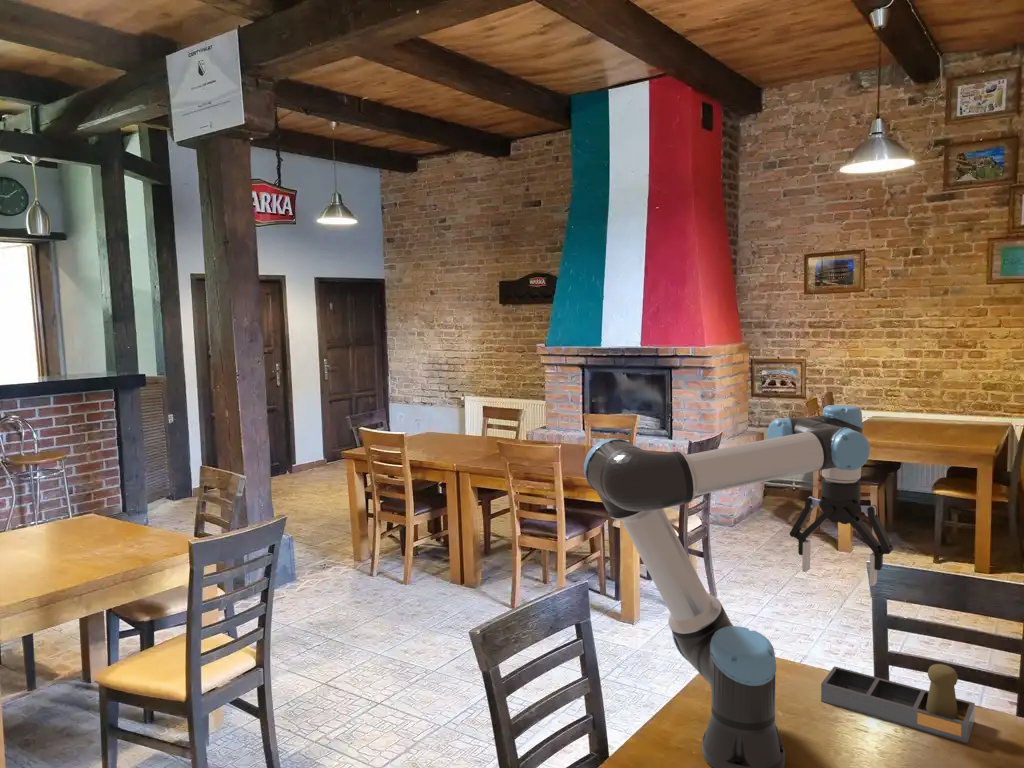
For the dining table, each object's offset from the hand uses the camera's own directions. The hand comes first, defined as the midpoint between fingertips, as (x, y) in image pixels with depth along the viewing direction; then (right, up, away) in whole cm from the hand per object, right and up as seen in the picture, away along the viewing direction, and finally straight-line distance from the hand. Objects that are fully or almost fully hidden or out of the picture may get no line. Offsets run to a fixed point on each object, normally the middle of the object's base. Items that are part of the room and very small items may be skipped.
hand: (838, 577), depth 157 cm
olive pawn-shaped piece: (+18, -27, -7) cm, 33 cm away
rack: (+11, -28, -2) cm, 30 cm away
